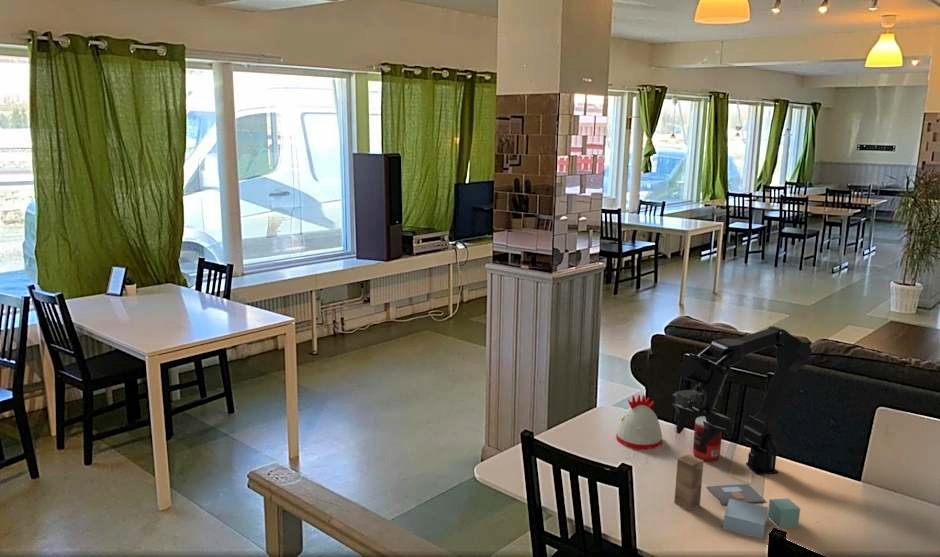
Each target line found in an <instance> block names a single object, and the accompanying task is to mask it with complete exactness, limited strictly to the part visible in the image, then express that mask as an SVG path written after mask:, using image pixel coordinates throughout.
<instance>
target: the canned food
mask: <svg viewBox="0 0 940 557" xmlns="http://www.w3.org/2000/svg"><path fill="white" fill-rule="evenodd" d="M703 421H704V422H707V421H706V418H705V416H703V415H701V416H698V417H696V418H695V421H694V431H693V432H694V433H693V446H692V453H693V456H694V457H696V458H699V459H701V460H703V462H704V461H706V462H715V461H717V460H718V459H719V458H720V455H721V445H722V437H723V436H722V434H723V431H722V432H720V433H719V434H718V435H716V436H715V437H714V438H713V439H711V440H710V441H709V442H708V443H707V444H706V445H705V446H704V447H699V442H700V439H701V436H702V434H703V431H704V424H703Z"/></svg>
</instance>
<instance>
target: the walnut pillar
mask: <svg viewBox="0 0 940 557" xmlns="http://www.w3.org/2000/svg"><path fill="white" fill-rule="evenodd" d="M703 467H704V460H701V459H699V458H696V457H695V456H694V455H692V454H690V453H688V454H686V455H683V456H681V457H679V458H677V464H676V476H675V477H676V478H675V488H674V490H675V491H674V502H673V503H674V504H675V503H676V504H675V505H677V504H678V505H677V506H679V505H680V506H679V507H681V506H682V507H681V508H683V507H684V508H683V509H685V508H686V509H685V510H687V511H691V510H693V509H695V508H697V507H699V506H700V505H701V494H702V485H703V483H702V482H703V472H704V469H703ZM698 505H699V506H698ZM696 506H697V507H696Z"/></svg>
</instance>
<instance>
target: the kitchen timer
mask: <svg viewBox="0 0 940 557" xmlns="http://www.w3.org/2000/svg"><path fill="white" fill-rule="evenodd" d="M650 399H651V398H649V397H647V398H646V396H645V394H644V393H643V394H642V396H641V395H640V394H638V395H637V399H636V398H635V395H632V398H631V401H630V399H627V401H628V404H629V408H628V409H626V411H625V412H624V413H623V414H622V416H621V418H620V421H619V423H618V425H617V428H616V434H615V435H616V437H615V438H616V441H617V442H618V443H619V444H621V445H622V446H625V447H627V448H630V449H633V450H635V449H636V450H647V451H648V450H653V449H657V448H659V447H660V446H661V445H662V443H663V435H662V430H661V429H662V428H661V424H660V421H659V419H658V416H657V414H656V413H655V412H654V410H652V407H653V405H654V404H655V402H654V400H652V401H651V402H650ZM658 446H659V447H658ZM656 447H657V448H656Z"/></svg>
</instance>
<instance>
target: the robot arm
mask: <svg viewBox="0 0 940 557" xmlns="http://www.w3.org/2000/svg"><path fill="white" fill-rule="evenodd" d="M773 346H775V348H776V352H775V359H776V368H775V371H774V373H773V376H772V378H771V381H770V383H769V385H768V388H767V390H766V393H765V395H764V398H763V401H762V403H761V405H760V408H759V411H758V412H757V413H756V414H754V415H753V416H752V415H749V416H748V417H747V419H746V422H745V425H744V426H743V429H744V430H743V435H744V439H745V442H746V444H747V445H748V446H750V450H749V452H748V459H747V462H746V463H745V465H746V466H747V467H748V468H749V469H751V470H752V471H753V472H754V473H755V474H757V475H764V474H765V475H768V474H770V475H771V474H778V473H779V471H778V470H777V469H776V461H777V457H778V456H779V455H781V454H782V452H783V450H784V446H783V444H782V443H781V442H780V441H779V440H778V439H777V437H778V434H779V426H778V421H777V420H778V417H779V414H780V412H781V410H782V407H783V405H784V403H785V400H786V398H787V394H788V392H789V390H790V387H791V384H792V382H793V380H794V377H795V375H796V373H797V372H798V371H799V370H801V369H802V368H804V367H805V366H806V364H807V362H808V360H809V359H810V357H811V355H812V348H811V345H810V344H809V343H808V342H807V341H804V340H801V339H799V338H797V337H795V336H793V335H792V334H791V333H789V331H787V330H786V329H783V328H781V327H777V326H773V325H772V326H769V327H767V328H766V329H762V330H760V331H757V332H754V333H750V334H748V335H744V336H742V337H739V338H721V339H715V340H712V341H711V342H710V345H708V346H707V347H706V348H704V349H703V350H702V351H701V352H699V353H698V354H697V355H696V354H695V353H692V352H689V354H688V356H687V357H684V358H682V360H681V361H680V362H679V364H678V371H677V372H678V374H679V376H680V378H683V379H684V380H685V379H686V380H689V381H692V382H695V383H698V384H694V385H693V387H692V389H685V390H684V389H683V390H677V391H676V392H674V393H673V394H672V395H671V398H670V400H669V401H670V402H671V403H672V404H671V405H672V407H673V408H674V409H675V411H676V433H677V434H678V435H679V434H681V433H682V432H683V431H684V430H685V427H686V425H687V424H688V422H689V420H690V419H691V417H692V416H693V414H694V413H698V414H700V415H701V416H705V418H706V421H707V422H704V421H703V424H704V431H703V434H702V436H701V439H700V442H699V447H704V446H705V445H706V444H707V443H708V442H709V441H710V440H711V439H713V438H714V437H715V436H716V435H718V434H719V433H720V432H722V433H723V432H726V431H727V430H728V431H731V429H732V427H733V420H732V418H729V417H728V416H726V415H724V414H722V413H719V412H717V410H718V409H717V408H715V406H716V403H717V401H718V399H722V398H723V394H721V392H722V388H723V386H724V383H725V380H726V378H727V376H731V377H733V376H734V373H733V372H734V371H733V370H732V366H735V365H736V364H738V363H740V362H741V361H743V359H744V357H745V356H748V355H749V354H753V353H755V352H757V351H761V350H764V349H767V348H770V347H773Z"/></svg>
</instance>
